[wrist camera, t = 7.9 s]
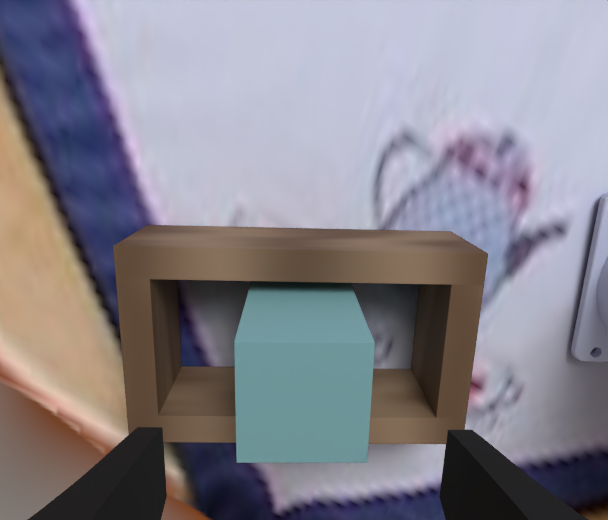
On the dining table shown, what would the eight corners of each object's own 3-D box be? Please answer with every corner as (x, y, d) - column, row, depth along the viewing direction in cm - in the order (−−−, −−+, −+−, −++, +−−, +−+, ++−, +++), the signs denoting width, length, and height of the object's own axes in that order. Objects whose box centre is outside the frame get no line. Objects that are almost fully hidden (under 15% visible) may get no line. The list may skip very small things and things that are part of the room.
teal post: (343, 266, 21) (374, 343, 13) (340, 347, 22) (367, 462, 14) (255, 265, 21) (233, 341, 13) (256, 346, 22) (236, 462, 14)
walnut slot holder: (451, 231, 20) (487, 253, 17) (433, 391, 23) (462, 444, 19) (147, 224, 20) (113, 246, 16) (157, 388, 22) (129, 441, 18)
